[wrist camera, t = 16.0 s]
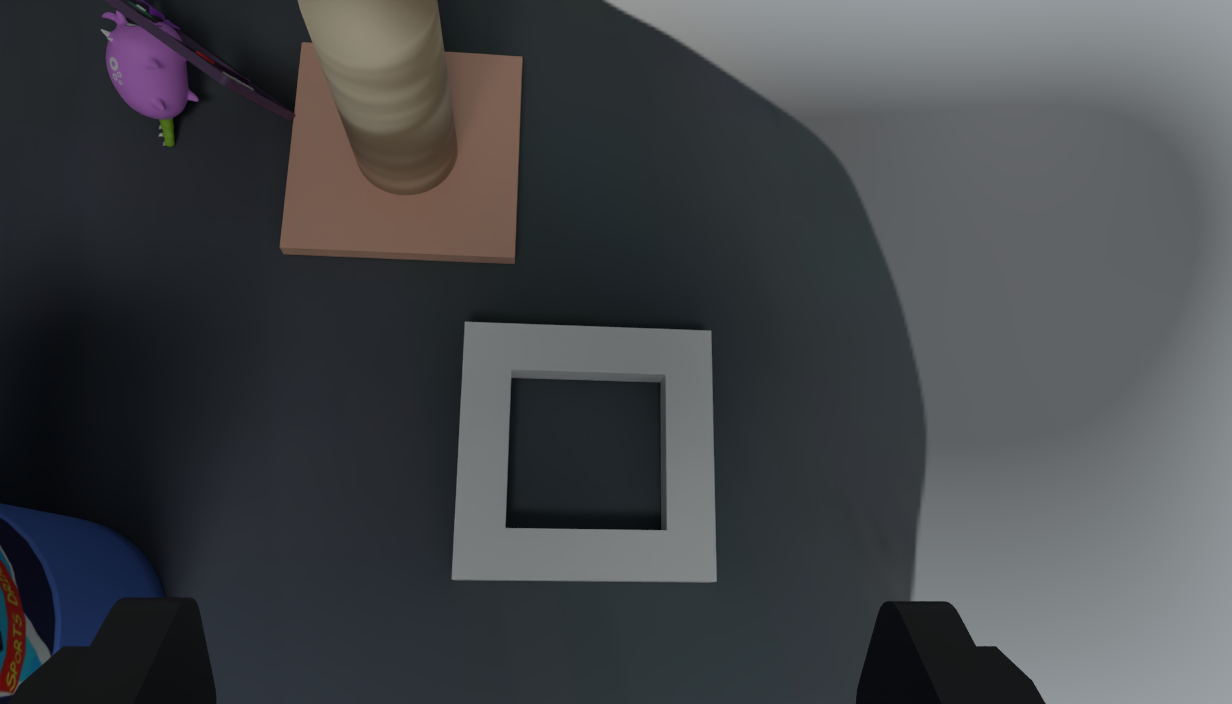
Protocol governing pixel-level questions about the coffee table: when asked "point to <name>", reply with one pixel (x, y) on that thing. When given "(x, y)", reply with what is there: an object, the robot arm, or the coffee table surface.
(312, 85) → the terracotta tile
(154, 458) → the coffee table surface
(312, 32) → the birch peg
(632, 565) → the pocket block
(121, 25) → the purple toy figure
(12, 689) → the water bottle
